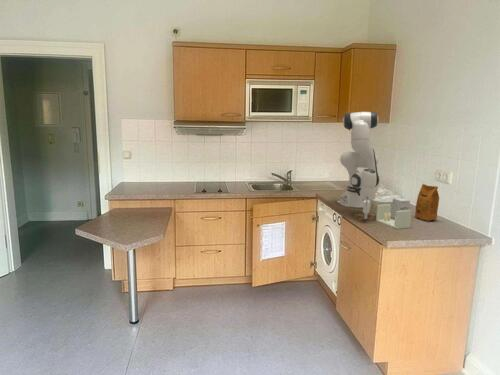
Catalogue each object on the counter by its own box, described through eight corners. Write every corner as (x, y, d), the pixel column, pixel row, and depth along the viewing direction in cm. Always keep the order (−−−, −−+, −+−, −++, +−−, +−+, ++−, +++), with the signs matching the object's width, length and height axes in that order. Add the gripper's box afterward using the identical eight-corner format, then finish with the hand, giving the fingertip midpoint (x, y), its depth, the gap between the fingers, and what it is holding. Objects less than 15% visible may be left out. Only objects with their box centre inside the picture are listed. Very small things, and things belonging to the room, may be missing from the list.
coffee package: (423, 215, 236) (427, 183, 232) (439, 220, 225) (443, 186, 221) (411, 216, 233) (415, 183, 229) (427, 221, 221) (431, 186, 217)
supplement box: (398, 220, 223) (400, 200, 221) (390, 217, 230) (392, 198, 228) (408, 219, 225) (410, 200, 223) (400, 216, 232) (402, 197, 230)
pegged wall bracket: (375, 220, 221) (376, 205, 219) (388, 219, 224) (389, 204, 223) (396, 228, 204) (398, 211, 203) (410, 227, 208) (411, 210, 206)
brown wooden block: (357, 221, 220) (357, 215, 219) (353, 219, 225) (354, 213, 224) (377, 220, 222) (378, 215, 221) (373, 218, 227) (374, 213, 226)
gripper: (372, 199, 210) (370, 221, 212) (373, 193, 229) (372, 214, 231) (361, 198, 212) (359, 220, 214) (363, 192, 231) (361, 213, 233)
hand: (366, 217), depth 223 cm, fingers open, 7 cm apart
